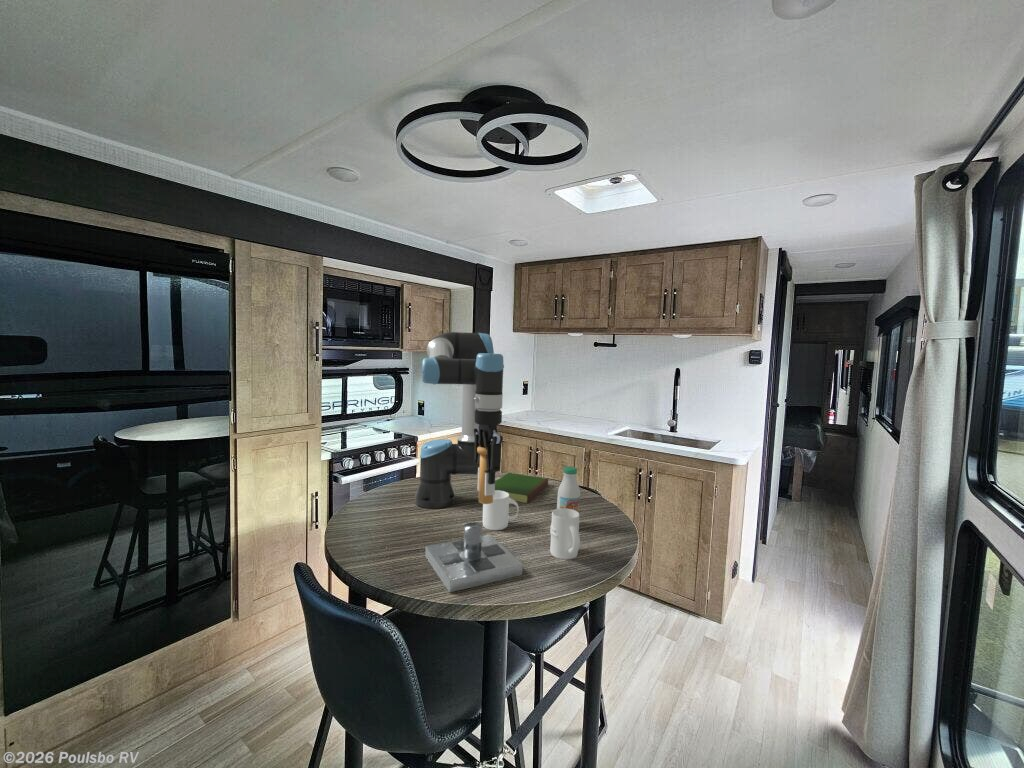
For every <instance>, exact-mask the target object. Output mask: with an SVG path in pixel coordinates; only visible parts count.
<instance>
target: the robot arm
mask: <svg viewBox="0 0 1024 768" xmlns="http://www.w3.org/2000/svg"><path fill="white" fill-rule="evenodd" d="M493 343H494V342H493V340H492V337H491V336H490V334H488V333H483V332H463V331H462V332H458V331H450V332H449V331H447V332H443V333H441V334H438V335H436V336H433V338H431V340H430V341H429V342H428V344H427V346H426V354H427V356H428V357H425V358H423V360H422V362H421V365H422V368H421V370H422V371H421V381H422V382H423V383H424V384H430V385H462V400H461V401H462V405H461V406H462V407H461V408H462V410H461V434H460V436H459V437H457V442H456V443H453V441H452V440H451V439H448V438H447V439H445V438H439V439H433V440H429V441H426V442H423V444H422V445H421V446H420V454H419V459H420V465H419V467H420V468H419V469H420V470H419V483H418V486H417V489H416V493H415V495H414V503H415V505H416V506H418V507H421V508H425V509H441V508H447V507H450V506H452V505H453V504H455V502H456V494H455V490H454V488H453V484H452V475H455V476H456V475H475V476H477V486H476V487H477V491H478V492H479V471H480V454H479V453H477V447H485V448H486V450H487V455H486V461H487V470H486V471H485V496H488V495H495V481H496V473H497V472H500V471H501V462H502V461H501V458H502V443H503V440H504V438H503V435H499V434H498V431H499V430H498V425H500V424H502V421H503V420H502V419H503V416H502V415H503V411H502V409H503V399H504V398H503V397H504V396H503V395H504V394H503V388H504V387H503V382H504V368H505V365H504V364H505V363H504V355H503V354H502V353H495V352H494V344H493Z"/></svg>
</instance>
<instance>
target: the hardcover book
mask: <svg viewBox="0 0 1024 768" xmlns="http://www.w3.org/2000/svg"><path fill="white" fill-rule="evenodd" d="M547 486H549V478H545V477H541V476H540V477H538V476H532V475H527V474H521V473H520V474H519V473H513V472H507V473H506V474H504V475H503V476H501V477H500V478H498V479H497V480H496V479H495V490H499V491H504V492H507V493H508V494H509V498H511V499H513V500H515V501H516V502H518V503H525V504H529V503H530V502H532V501H533V500H534V499H536V497H538V496H539V493H540V492H541V493H542V492H544V491H545V490H546V489H547V488H548V487H547ZM541 493H540V494H541Z"/></svg>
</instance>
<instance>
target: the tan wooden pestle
mask: <svg viewBox="0 0 1024 768" xmlns="http://www.w3.org/2000/svg"><path fill="white" fill-rule="evenodd" d="M477 453H479V454H480V471H479V491H478V503H480V504H482V505H483V504H490V503H492V502H493V495H488V496H485V471H486V470H487V461H486V455H487V450H486V448H485V447H477Z"/></svg>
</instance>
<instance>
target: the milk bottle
mask: <svg viewBox="0 0 1024 768" xmlns="http://www.w3.org/2000/svg"><path fill="white" fill-rule="evenodd" d="M562 470H563V471H562V472H563V477H562V480H561V482H560V485H559V486H558V490H557V497H556V498H557V499H556V509H559V508H567V509H572V510H575V511H577V512H578V513H579V515H580V512H581V489H580V486H579V483H578V479H577V475H578V468H577V467H575V466H569V465H568V466H564V467H563V468H562ZM579 519H580V516H579Z"/></svg>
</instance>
